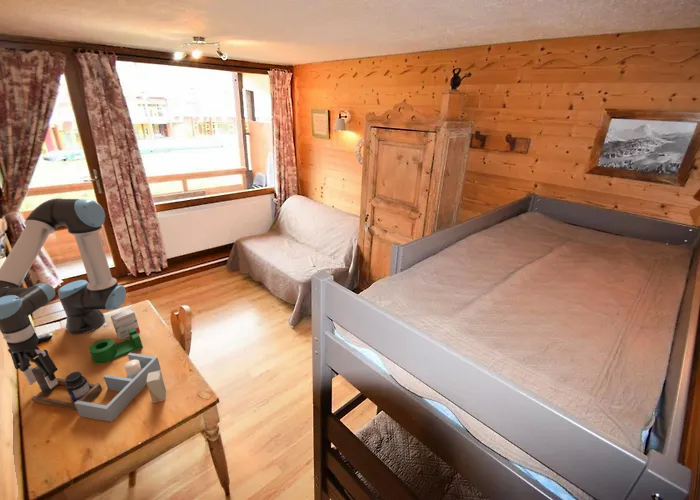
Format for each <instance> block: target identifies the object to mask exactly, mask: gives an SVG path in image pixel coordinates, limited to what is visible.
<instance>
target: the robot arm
mask: <svg viewBox="0 0 700 500" xmlns="http://www.w3.org/2000/svg"><path fill="white" fill-rule="evenodd" d="M105 213H106V212H105V210H104V208H103V207H102V205H101V203H99V202H97V201H95V200H93V199H86V198H52V199H51V198H50V199H49V200H46V201H44V202H42V203H40V204H39V205H38V206H37V207H35V208H34V209H33V210H32V211H31V212H30V213H29V215H28V216H27V218H26V219H25V221H24V223H23V224H24V225H25V227H24V229H23V231H22V232H21V234H20V235H19V237H18V239H17V240H16V242H15V243H14V245H13V247H12V248H11V250H10V251H9V253H8V255H7V257H6V258H5V260H4V262H3V263H2V265H0V333H1V335H2V338H3V340H5V342H6V344H7V345H6V346H7V347H8V349H7V351H8V353H9V354H10V356H11V360H12V362H13V366H14V368H15V369H16V370H20V371H21V372H22V373H23V375H24V377H25V378H26V381H27V383H28V385H29V386H32V385H34V384H35V383H36V382H37V380H36V378H35V376H34V374H33V372H32V369H33V368H34V367H33V366H32V364H31V363H34V364H35V365H36V367H37V366H38V367H39V368H40V369H41V371H42V372H43V373H44V374H45V375H44V378H45V380H46V382H47V384H48V386H49V388H51V389H52V388H53V387H54V386H55V385H57V384H58V381H57V379H56V378H57V376H56V374H55V373H56V372H57V371H58V370H59V369H58V368H57V365H56V364H55V362H54V361H53V360H52V358H51V356H50V354H49V352H48V350H47V349H44V350H42V349H40V348H39V347H38V343H39V337H38V335H37V332H36V329H35V328H34V325H33V323H32V321H31V319H30V318H29V316H30V315H31V314H33V313H34V312H36V311H37V310H39V309H41V307H43V306H45V305H47V304H49V302H50V301H52V300H53V299H54V298H55V297H56V291H55V288H54V287H53V286H52V285H50V284H48V283H46V282H39V283H36V284H34V285H32V286H30V287H21V285H22V283H23V282H24V280H25V278H26V276H27V274H29V273H28V272H29V271H30V269H31V268H32V266H33V264H34V262H35V260H36V258H37V257H38V255H39V253H40V251H41V250H42V248H43V246H44V244H45V243H46V241H47V239H48V237H49V235H50V234H53V233H55V231H56V229H57V228H59V227H66V229H67V232H68V233H69V234H70V235H72V236H74V238H75V241H76V245H77V248H78V250H79V253H80V257H81V260H82V263H83V267H84V269H85V273H86V276H87V279H88V281H87V280H86V279H77V280H75V281H71V282H68V283H66V284H64V285H62V286H61V287H60V288H58V290H57V295H58V299H59V301H60V303H61V306H62V308H63V310H64V312H65V315H66V325H65V327H66V328H65V329H66V331H67V332H68V333H69V334H73V335H81V334H86V333H89V332H92V331H94V330H96V329H97V328H100V327H101V326H102V325H103V324H104V323H105V321H106V318H105V314H103V312H102V311H101V310H106V311H110V310H117V309H119V308H120V307H121V306H122V305H123V304H124V303H125V299H126V297H127V290H126V287H125V286H124V285H121V284H119V283H118V280H117V278H115V277H113V276H112V273H111V269H110V266H109V263H108V260H107V256H106V252H105V249H104V245H103V243H102V238H101V235H100V230H102V228H103V227H102V225H104V223H105V220H106V214H105ZM58 385H59V384H58ZM58 385H57V386H58ZM53 389H54V388H53Z"/></svg>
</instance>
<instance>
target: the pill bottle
mask: <svg viewBox="0 0 700 500" xmlns="http://www.w3.org/2000/svg"><path fill="white" fill-rule="evenodd" d="M64 379H65V380H66V382H67V383H66V385H65V388H66V391H67V394H68V395H69V397H70V400H71V403H75V402H76V401H77V400H79V399H80V398H81V397H83V396H84V395H85V394H86V393H87V392H88V391H89V390H90V386H89V384H88V383H89V382H88V379H87V377H86V376H85V375H83V374H82V372H81V371H73V372H70V373H69V374H67V375H66V376H65V378H64Z"/></svg>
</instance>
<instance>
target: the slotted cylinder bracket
mask: <svg viewBox="0 0 700 500" xmlns="http://www.w3.org/2000/svg"><path fill="white" fill-rule="evenodd" d="M128 332H129V335H130V336H129V338H127V339H124V340H121V341H119V342H117V343H115V341H114V339H112V338H102V339H98V340H97V341H95V342H92V344H91V345H90V346H89V347H88V352H89V355H90V356H91V359H92V360H91V361H92V362H93V363H95V364H96V365H97V364H98V365H101V364H106V363H109V362H111V361H113V360H115V359H118V358H120V357H123V356H126V355H128V354H129V353H133V352H136V351H138V350H139V349H143V348H144V346H143V342H142V340H141V337H140V334H139V332H136V330H135V328H134V329H131V330H128Z"/></svg>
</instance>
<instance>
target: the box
mask: <svg viewBox="0 0 700 500" xmlns="http://www.w3.org/2000/svg"><path fill="white" fill-rule="evenodd" d="M146 383H147V384H146V386H147V388H148V393H149V396H150V399H151V401H152V403H153V404H154V403H159V402H162V401H165V400H166V394H167V389H166V386H165V381H164V378H163V375H162V371H161V369H160V370H159V371H154V372H150V373H148V375H147V382H146Z"/></svg>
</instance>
